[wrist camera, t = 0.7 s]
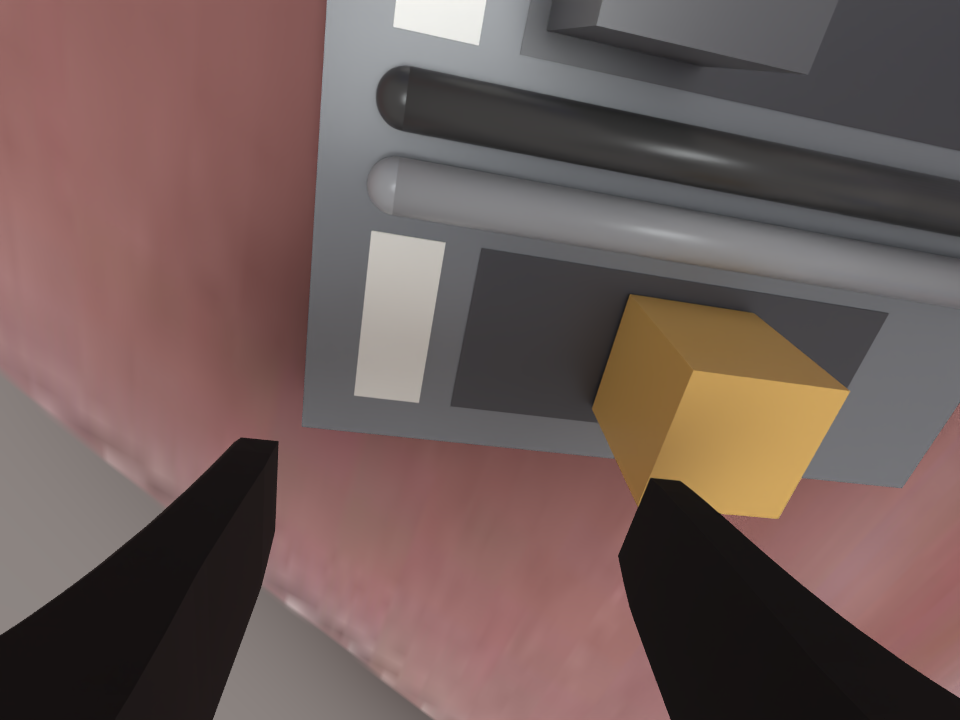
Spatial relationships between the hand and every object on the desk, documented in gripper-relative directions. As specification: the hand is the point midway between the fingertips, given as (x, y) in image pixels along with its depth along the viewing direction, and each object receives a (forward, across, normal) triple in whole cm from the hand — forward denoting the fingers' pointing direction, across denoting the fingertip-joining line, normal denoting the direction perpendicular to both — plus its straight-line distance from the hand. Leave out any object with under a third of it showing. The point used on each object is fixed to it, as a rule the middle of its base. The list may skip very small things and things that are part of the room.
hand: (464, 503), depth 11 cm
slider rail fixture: (+9, -7, -5) cm, 13 cm away
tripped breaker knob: (+7, -7, 0) cm, 10 cm away
